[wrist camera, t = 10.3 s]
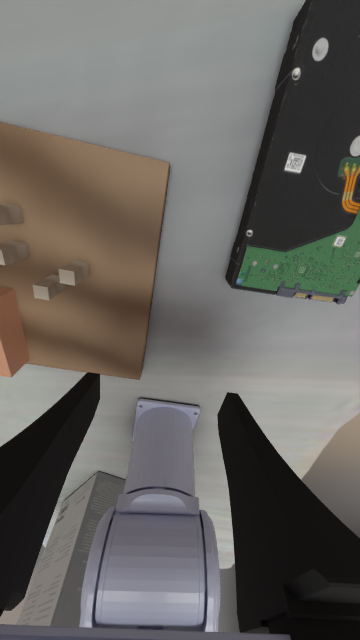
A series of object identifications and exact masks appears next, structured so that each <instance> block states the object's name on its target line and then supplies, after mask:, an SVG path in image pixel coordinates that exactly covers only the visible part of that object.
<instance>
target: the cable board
mask: <svg viewBox="0 0 360 640" xmlns="http://www.w3.org/2000/svg"><path fill="white" fill-rule="evenodd" d="M169 173H170V164H169V163H168V162H164V161H159V160H155V159H151V158H147V157H143V156H139V155H135V154H130V153H126V152H122V151H118V150H114V149H110V148H106V147H102V146H97V145H93V144H89V143H85V142H81V141H77V140H73V139H69V138H64V137H60V136H56V135H52V134H48V133H44V132H40V131H35V130H31V129H27V128H23V127H19V126H15V125H11V124H7V123H2V122H0V287H4V288H10V289H14V290H15V295H16V299H17V304H18V308H19V313H20V317H21V322H22V327H23V331H24V336H25V340H26V345H27V349H28V354H29V360H28V361H27V362H26V364H33V365H40V366H47V367H53V368H60V369H67V370H74V371H81V372H91V373H98V374H102V375H109V376H116V377H123V378H130V379H137V380H140V377H141V373H142V368H143V361H144V353H145V346H146V339H147V332H148V324H149V317H150V310H151V303H152V296H153V288H154V281H155V274H156V267H157V259H158V252H159V245H160V238H161V231H162V223H163V216H164V209H165V202H166V195H167V187H168V180H169Z"/></svg>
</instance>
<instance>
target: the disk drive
mask: <svg viewBox="0 0 360 640" xmlns="http://www.w3.org/2000/svg"><path fill="white" fill-rule="evenodd" d="M226 280H227V282H228V284H229V285H230V287H231V288H233V289H239V290H247V291H253V292H259V293H266V294H273V295H275V294H276V295H278V296H283V297H290V298H293V296H294V297H297V298H304V299H307V298H309V299H312V300H319V301H326V302H336V303H337V304H344V303H345V301H346V299H347V297H348V296H351V297H352V296H353V294H354V293H355V291H356V290H357V288H358V286H359V284H360V0H306V1H305V3H304V5H303V6H302V8H301V10H300V11H299V13H298V15H297V17H296V18H295V20H294V22H293V27H292V32H291V34H290V39H289V42H288V46H287V50H286V53H285V54H284V57H283V61H282V64H281V68H280V72H279V75H278V79H277V84H276V87H275V96H274V99H273V102H272V106H271V110H270V114H269V118H268V122H267V125H266V128H265V133H264V137H263V140H262V144H261V148H260V151H259V155H258V159H257V163H256V167H255V171H254V173H253V178H252V181H251V185H250V189H249V192H248V196H247V201H246V204H245V208H244V211H243V216H242V219H241V223H240V226H239V230H238V234H237V237H236V241H235V243H234V246H233V249H232V253H231V260H230V263H229V267H228V270H227V274H226Z"/></svg>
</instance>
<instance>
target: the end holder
mask: <svg viewBox="0 0 360 640" xmlns="http://www.w3.org/2000/svg"><path fill="white" fill-rule="evenodd" d="M28 360H29V354H28V349H27V345H26V340H25V336H24V331H23V327H22V322H21V317H20V313H19V308H18V304H17V299H16V295H15V290H14V289H10V288H4V287H0V376H6V377H12V376H13V375H14V374H15V373H16V372H17V371H18V370H19V369H20V368H21V367H22V366H23V365H24V364H25V363H26V362H27V361H28Z"/></svg>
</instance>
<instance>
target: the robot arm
mask: <svg viewBox="0 0 360 640" xmlns="http://www.w3.org/2000/svg"><path fill="white" fill-rule="evenodd" d="M99 400H100V374H98V373H91V372H88V373H86V374H85V375H84V376H83V377H82V379H81V380H80V381H79V382H78V383H77V384H76V385H75V386H74V387H73V388H72V389H71V390H69V391H68V392H67V393H66V394H65V395H64V396H63V397H62V398H61V399H60V400H59V401H58V402H57V403H56V404H54V405H53V406H52V407H51V408H50V409H49V410H47V411H46V412H45V413H44V414H43V415H42V416H40V417H39V418H38V419H37V420H36V421H34V422H33V423H32V424H31V425H29V426H28V427H27V428H26V429H24V430H23V431H22V432H20V433H19V434H18V435H16V436H15V437H14V438H12V439H11V440H10V441H8V442H7V443H5V444H4V445H2V446H1V447H0V616H1V615H2V613H3V611H4V610H6V611H11V610H12V609H14V608H15V607H16V606H17V605H18V604H19V603H20V602H21V601H22V600H23V599H24V597H25V594H26V590H27V588H28V584H29V582H30V579H31V576H32V573H33V569H34V567H35V564H36V561H37V558H38V554H39V552H40V549H41V546H42V543H43V540H44V537H45V535H46V532H47V529H48V526H49V523H50V520H51V518H52V515H53V512H54V509H55V506H56V504H57V501H58V498H59V495H60V493H61V490H62V487H63V485H64V482H65V480H66V477H67V474H68V472H69V469H70V467H71V465H72V462H73V460H74V458H75V456H76V454H77V452H78V450H79V447H80V445H81V443H82V441H83V439H84V437H85V435H86V433H87V430H88V428H89V426H90V424H91V422H92V420H93V417H94V415H95V412H96V409H97V406H98V403H99ZM199 414H200V407H198V406H192V405H184V404H177V403H170V402H162V401H155V400H148V399H139V400H138V402H137V409H136V416H135V423H134V431H133V438H132V443H133V448H132V453H131V457H130V462H129V467H128V472H127V477H126V482H125V487H124V492H123V494H120V495H119V497H118V502H117V506H116V507H110V508H109V509H108V510H107V512H106V513H105V514H104V515H103V516H102V518H101V520H100V522H99V524H98V526H97V529H96V532H95V535H94V538H93V542H92V545H91V549H90V553H89V557H88V561H87V565H86V570H85V575H84V581H83V587H82V594H81V617H80V624H79V627H61V626H33V625H5V624H0V640H360V538H359V537H358V536H356V535H355V534H354V533H353V532H352V531H351V530H350V529H349V528H348V527H347V526H345V525H344V524H343V523H342V522H341V521H340V520H339V519H338V518H337V517H336V516H335V515H334V514H333V513H332V512H331V511H330V510H329V509H328V508H327V507H326V506H325V505H324V504H323V503H322V502H321V501H320V500H319V499H318V498H317V497H316V496H315V495H314V494H313V493H312V492H311V491H310V489H308V487H307V486H306V485H305V484H304V483H303V482H302V481H301V480H300V479H299V477H298V476H297V475H296V474H295V473H294V472H293V470H292V469H291V468H290V467H289V466H288V464H287V463H286V462H285V461H284V460H283V458H282V457H281V456H280V455H279V453H278V452H277V451H276V450H275V448H274V447H273V445H272V444H271V443H270V441H269V440H268V439H267V437H266V436H265V434H264V433H263V432H262V430H261V429H260V427H259V426H258V424H257V423H256V421H255V420H254V418H253V417H252V415H251V414H250V412H249V411H248V409H247V407H246V406H245V404H244V403H243V401H242V399H241V398H240V396H239V395H238V394H236V393H229V392H227V395H226V397H225V399H224V401H223V404H222V406H221V408H220V410H219V413H218V430H219V437H220V443H221V448H222V454H223V459H224V464H225V469H226V475H227V480H228V487H229V496H230V505H231V515H232V527H233V539H234V554H235V571H236V592H237V615H238V622H239V629H240V633H228V632H218V614H219V608H220V574H219V560H218V550H217V542H216V535H215V530H214V525H213V522H212V520H211V519H210V517H209V516H208V514H207V512H206V511H205V510H199V498H198V497H195V480H194V459H193V437H192V432H193V430H194V427H195V424H196V422H197V419H198V416H199Z"/></svg>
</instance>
